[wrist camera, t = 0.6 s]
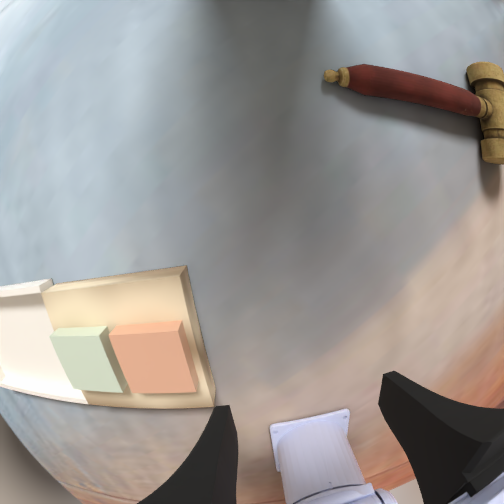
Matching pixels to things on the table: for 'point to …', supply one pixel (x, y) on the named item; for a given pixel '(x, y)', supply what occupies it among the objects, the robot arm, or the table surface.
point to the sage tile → (89, 359)
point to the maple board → (135, 312)
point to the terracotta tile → (155, 357)
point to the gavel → (439, 96)
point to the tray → (31, 345)
